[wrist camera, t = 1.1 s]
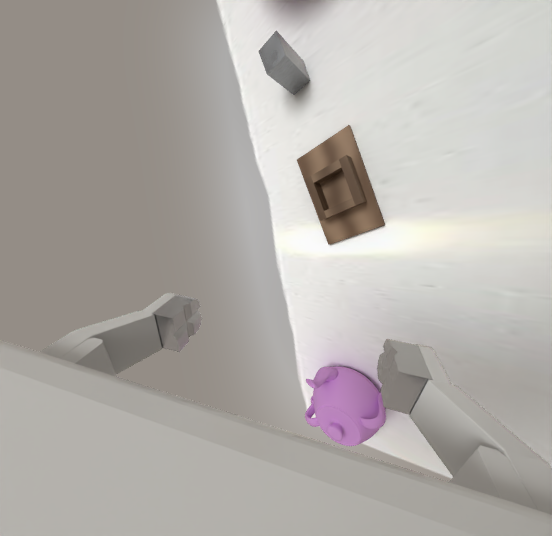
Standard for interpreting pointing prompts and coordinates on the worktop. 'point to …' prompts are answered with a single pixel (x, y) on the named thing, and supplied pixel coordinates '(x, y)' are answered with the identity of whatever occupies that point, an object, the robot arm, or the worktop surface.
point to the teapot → (345, 405)
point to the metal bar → (284, 64)
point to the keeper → (340, 187)
